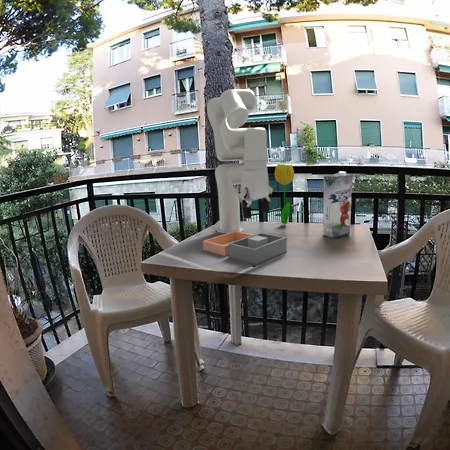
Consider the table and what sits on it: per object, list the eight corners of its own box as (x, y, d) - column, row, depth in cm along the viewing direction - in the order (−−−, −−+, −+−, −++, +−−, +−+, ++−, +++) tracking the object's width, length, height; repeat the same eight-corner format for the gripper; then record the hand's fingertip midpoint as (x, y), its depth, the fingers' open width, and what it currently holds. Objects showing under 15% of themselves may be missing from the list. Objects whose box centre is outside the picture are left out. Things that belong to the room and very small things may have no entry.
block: (248, 254, 115) (247, 238, 114) (257, 251, 119) (256, 235, 117) (258, 257, 112) (258, 241, 110) (267, 253, 115) (267, 237, 114)
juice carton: (319, 235, 138) (320, 172, 132) (336, 231, 143) (338, 170, 136) (335, 239, 130) (337, 172, 124) (353, 235, 135) (356, 170, 129)
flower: (282, 228, 152) (282, 164, 145) (272, 225, 159) (271, 164, 152) (297, 225, 156) (297, 163, 149) (286, 222, 163) (286, 163, 156)
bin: (229, 259, 114) (228, 243, 112) (261, 247, 126) (260, 232, 124) (254, 267, 105) (254, 249, 104) (286, 253, 117) (286, 237, 116)
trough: (203, 252, 123) (202, 240, 122) (235, 241, 136) (235, 230, 134) (225, 258, 115) (224, 246, 114) (257, 246, 127) (257, 235, 126)
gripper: (263, 163, 116) (263, 209, 121) (229, 168, 105) (231, 218, 109) (280, 164, 111) (279, 211, 116) (246, 168, 100) (248, 221, 104)
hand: (256, 215), depth 112 cm, fingers open, 9 cm apart
